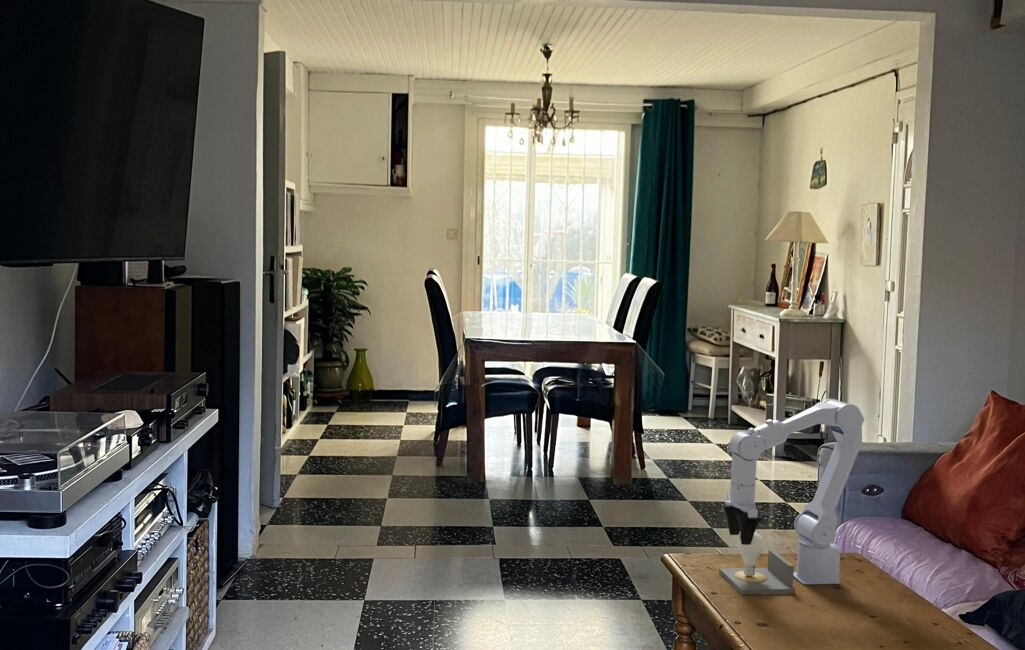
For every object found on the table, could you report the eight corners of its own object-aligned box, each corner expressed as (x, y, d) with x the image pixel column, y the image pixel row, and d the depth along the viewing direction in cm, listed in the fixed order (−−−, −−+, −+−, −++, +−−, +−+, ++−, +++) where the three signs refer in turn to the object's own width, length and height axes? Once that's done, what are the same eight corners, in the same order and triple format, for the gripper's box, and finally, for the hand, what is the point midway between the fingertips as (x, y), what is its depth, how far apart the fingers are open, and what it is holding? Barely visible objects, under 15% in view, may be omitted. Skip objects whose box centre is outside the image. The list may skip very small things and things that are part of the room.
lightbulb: (763, 581, 231) (765, 536, 230) (735, 579, 232) (737, 533, 231) (762, 573, 237) (764, 528, 236) (735, 571, 238) (737, 526, 238)
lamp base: (770, 572, 243) (771, 547, 242) (795, 593, 228) (797, 567, 227) (719, 573, 241) (720, 548, 240) (741, 594, 226) (742, 568, 225)
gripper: (716, 476, 239) (713, 530, 240) (738, 490, 225) (735, 548, 226) (744, 476, 240) (741, 530, 241) (767, 490, 226) (764, 548, 227)
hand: (740, 539), depth 234 cm, fingers open, 7 cm apart
